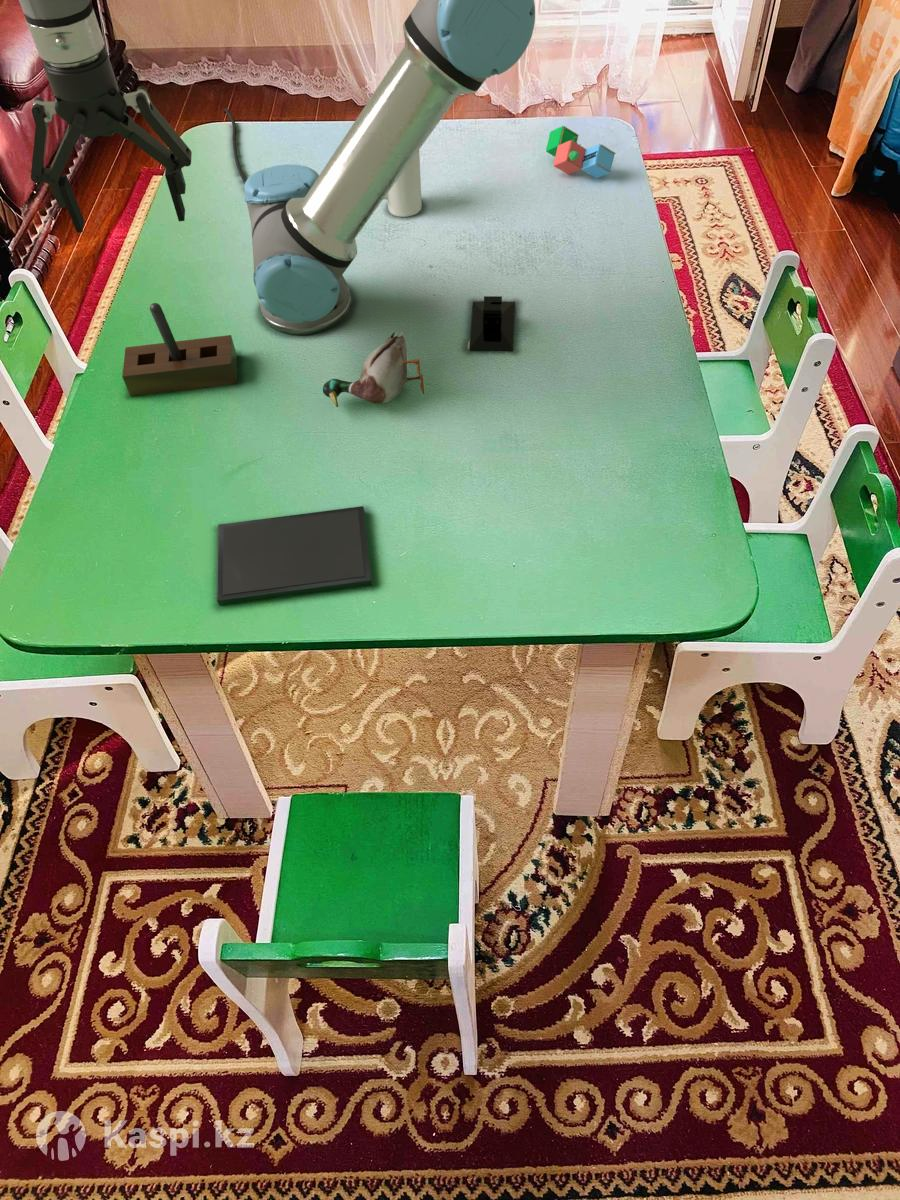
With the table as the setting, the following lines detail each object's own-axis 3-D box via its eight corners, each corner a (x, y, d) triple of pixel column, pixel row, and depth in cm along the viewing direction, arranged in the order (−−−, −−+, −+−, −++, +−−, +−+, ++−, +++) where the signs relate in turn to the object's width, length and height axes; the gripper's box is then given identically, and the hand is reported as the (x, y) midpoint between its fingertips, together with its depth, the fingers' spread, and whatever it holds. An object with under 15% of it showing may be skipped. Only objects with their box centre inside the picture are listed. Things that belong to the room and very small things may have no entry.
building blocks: (570, 188, 182) (611, 173, 171) (539, 170, 177) (578, 154, 167) (580, 149, 181) (621, 132, 171) (548, 130, 177) (589, 111, 167)
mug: (416, 194, 174) (412, 131, 164) (427, 213, 170) (423, 149, 160) (365, 206, 172) (358, 143, 163) (375, 225, 169) (368, 161, 159)
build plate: (513, 352, 146) (513, 328, 143) (467, 351, 147) (466, 328, 143) (515, 303, 154) (515, 279, 150) (471, 302, 154) (470, 279, 150)
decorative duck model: (313, 388, 134) (324, 319, 142) (326, 425, 140) (335, 357, 148) (415, 379, 132) (420, 310, 140) (424, 417, 138) (427, 348, 146)
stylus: (178, 370, 146) (148, 301, 132) (188, 369, 147) (159, 299, 132) (178, 378, 146) (148, 309, 132) (189, 377, 146) (159, 308, 132)
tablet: (220, 530, 127) (217, 523, 126) (364, 511, 128) (363, 505, 127) (218, 605, 119) (216, 600, 118) (372, 585, 120) (371, 579, 119)
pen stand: (133, 367, 148) (125, 347, 144) (236, 355, 148) (231, 334, 145) (130, 396, 144) (121, 376, 140) (236, 383, 144) (230, 363, 141)
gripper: (-41, 80, 104) (34, 247, 122) (179, 57, 106) (223, 226, 123) (-30, 50, 109) (41, 216, 126) (182, 29, 110) (224, 196, 127)
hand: (131, 221), depth 124 cm, fingers open, 13 cm apart
